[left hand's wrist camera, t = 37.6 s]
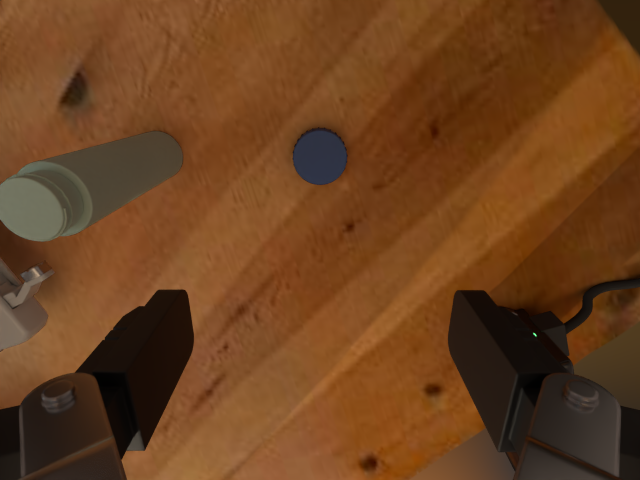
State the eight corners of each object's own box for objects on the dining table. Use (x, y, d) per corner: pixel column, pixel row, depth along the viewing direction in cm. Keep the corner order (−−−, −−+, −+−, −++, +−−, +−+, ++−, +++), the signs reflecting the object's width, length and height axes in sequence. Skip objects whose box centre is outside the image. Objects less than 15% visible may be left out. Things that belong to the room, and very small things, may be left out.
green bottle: (137, 175, 39) (-6, 245, 22) (134, 128, 38) (-25, 163, 20) (183, 180, 40) (77, 252, 22) (182, 133, 38) (65, 172, 20)
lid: (299, 184, 40) (297, 189, 38) (289, 132, 38) (287, 134, 36) (349, 175, 39) (351, 180, 37) (342, 123, 37) (343, 125, 35)
